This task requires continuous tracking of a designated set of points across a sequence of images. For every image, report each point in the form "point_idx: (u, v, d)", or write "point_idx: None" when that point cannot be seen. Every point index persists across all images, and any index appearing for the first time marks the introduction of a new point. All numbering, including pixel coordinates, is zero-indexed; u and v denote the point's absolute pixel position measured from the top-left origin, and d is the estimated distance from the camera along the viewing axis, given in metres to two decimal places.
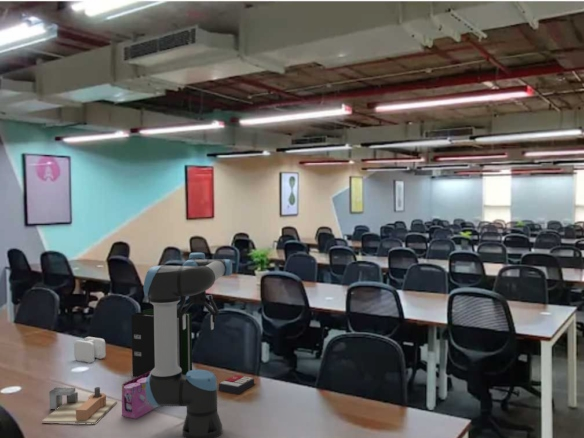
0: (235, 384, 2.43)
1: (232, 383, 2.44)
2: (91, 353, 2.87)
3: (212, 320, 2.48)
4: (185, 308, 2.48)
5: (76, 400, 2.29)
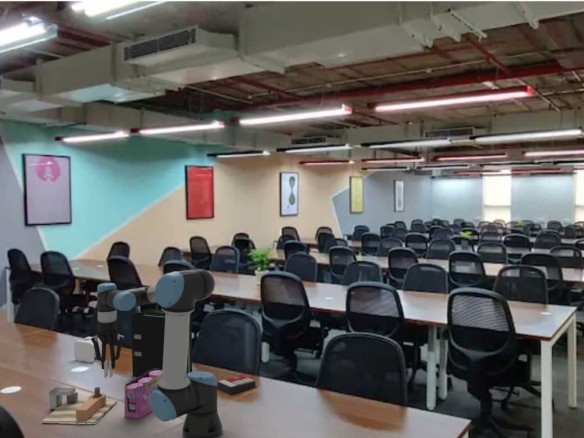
0: (230, 384, 2.43)
1: (228, 383, 2.45)
2: (91, 353, 2.87)
3: (111, 366, 2.16)
4: (102, 352, 2.16)
5: (76, 400, 2.29)
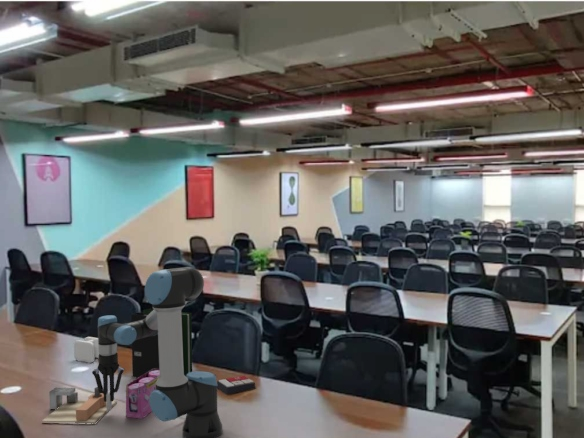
0: (228, 384, 2.43)
1: (227, 383, 2.45)
2: (91, 353, 2.87)
3: (110, 399, 2.17)
4: (103, 384, 2.16)
5: (76, 400, 2.29)
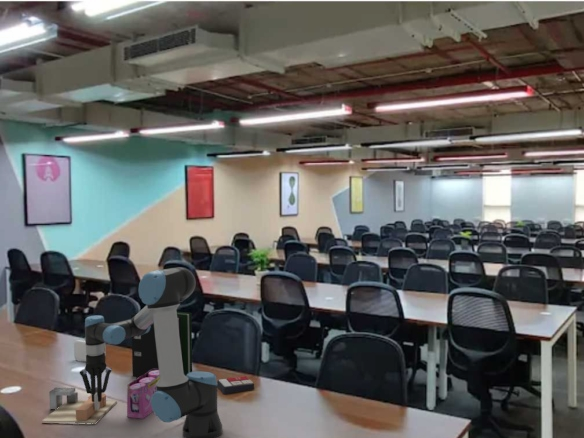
0: (226, 384, 2.43)
1: (226, 382, 2.45)
2: None
3: (97, 399, 2.16)
4: (91, 385, 2.16)
5: (76, 400, 2.29)
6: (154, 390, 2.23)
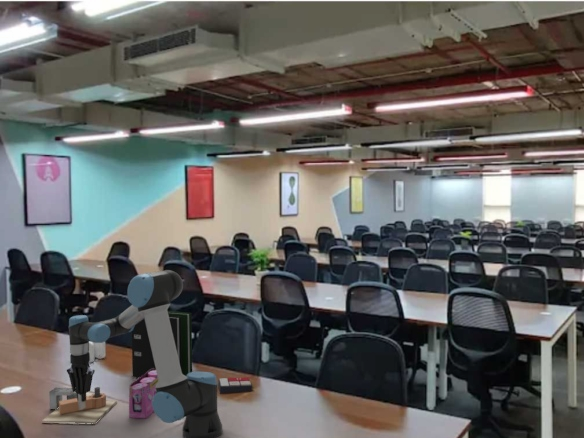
0: (223, 383, 2.44)
1: (224, 382, 2.46)
2: (91, 353, 2.87)
3: (81, 399, 2.17)
4: (76, 384, 2.17)
5: None
6: (155, 390, 2.23)
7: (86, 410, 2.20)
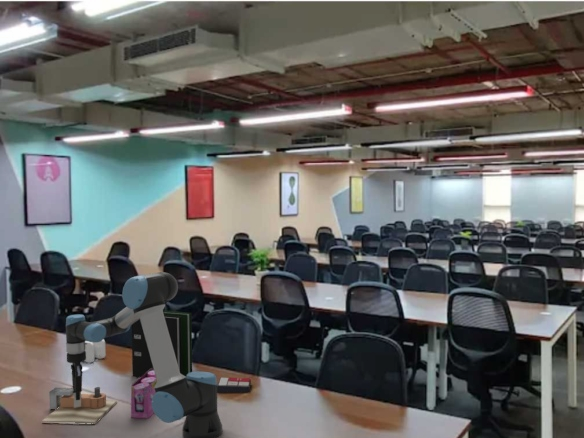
0: (222, 383, 2.45)
1: (223, 381, 2.47)
2: (91, 353, 2.87)
3: (75, 397, 2.20)
4: (73, 381, 2.22)
5: None
6: None
7: (86, 410, 2.20)
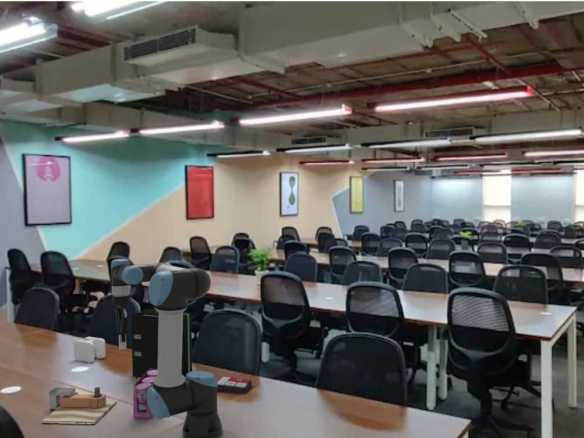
0: (220, 382, 2.46)
1: (223, 381, 2.48)
2: (91, 353, 2.87)
3: (120, 339, 2.25)
4: (118, 324, 2.26)
5: None
6: None
7: (86, 410, 2.20)
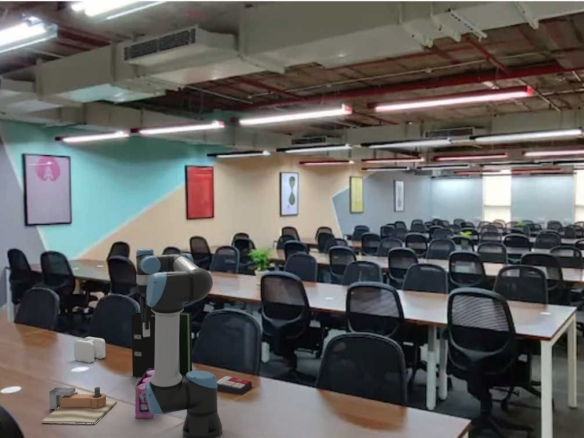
0: (219, 381, 2.47)
1: (223, 380, 2.49)
2: (91, 353, 2.87)
3: (144, 327, 2.30)
4: (142, 312, 2.32)
5: None
6: None
7: (86, 410, 2.20)
